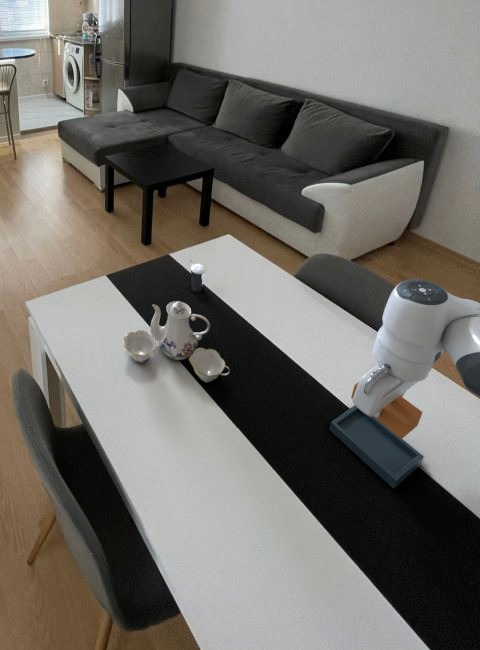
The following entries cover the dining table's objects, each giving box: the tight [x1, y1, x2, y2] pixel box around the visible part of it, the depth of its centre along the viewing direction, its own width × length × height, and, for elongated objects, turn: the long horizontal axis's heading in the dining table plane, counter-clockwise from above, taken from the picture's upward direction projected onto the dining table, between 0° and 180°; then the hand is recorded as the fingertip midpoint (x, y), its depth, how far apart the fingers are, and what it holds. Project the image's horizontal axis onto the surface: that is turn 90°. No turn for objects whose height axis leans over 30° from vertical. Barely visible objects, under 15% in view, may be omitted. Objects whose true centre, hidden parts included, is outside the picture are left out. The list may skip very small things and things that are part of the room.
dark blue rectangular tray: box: [328, 404, 425, 490], centre depth 91 cm, size 14×10×2 cm
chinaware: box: [123, 300, 231, 383], centre depth 113 cm, size 28×17×17 cm, turn 73°
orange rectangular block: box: [350, 380, 423, 439], centre depth 87 cm, size 10×6×5 cm, turn 27°
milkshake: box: [189, 259, 206, 293], centre depth 138 cm, size 4×5×10 cm
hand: (385, 405), depth 87 cm, fingers closed on orange rectangular block, 5 cm apart
